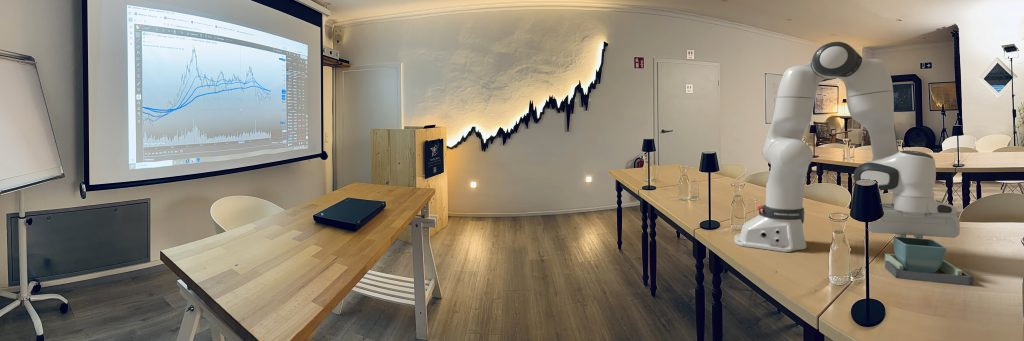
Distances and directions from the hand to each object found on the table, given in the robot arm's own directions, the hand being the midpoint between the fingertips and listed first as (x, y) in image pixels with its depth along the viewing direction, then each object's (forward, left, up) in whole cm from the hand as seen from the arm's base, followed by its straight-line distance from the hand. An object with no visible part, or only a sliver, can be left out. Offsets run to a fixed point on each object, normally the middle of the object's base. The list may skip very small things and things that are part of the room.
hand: (909, 248), depth 121 cm
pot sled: (0, -7, -4) cm, 8 cm away
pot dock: (0, -12, -5) cm, 13 cm away
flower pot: (0, -7, -5) cm, 9 cm away
